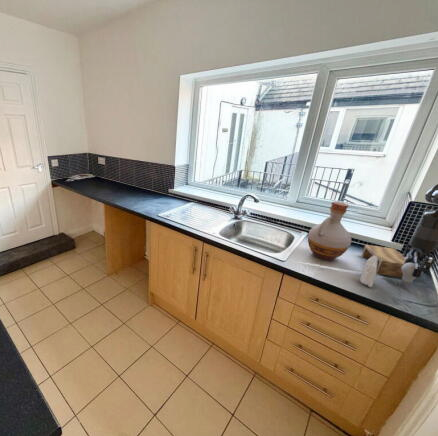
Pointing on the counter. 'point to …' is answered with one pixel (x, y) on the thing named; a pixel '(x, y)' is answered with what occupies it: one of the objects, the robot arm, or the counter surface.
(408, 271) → the lightbulb
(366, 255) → the wooden wedge block
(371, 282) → the pale stone slab
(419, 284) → the counter surface
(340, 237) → the jug
